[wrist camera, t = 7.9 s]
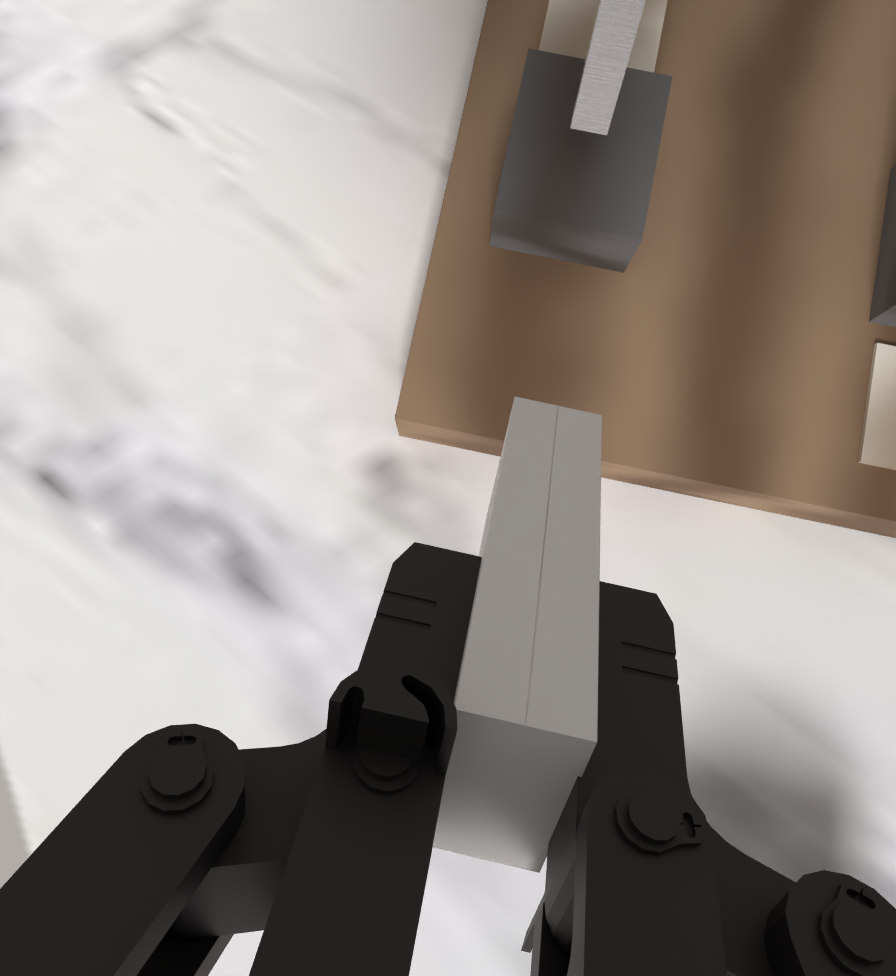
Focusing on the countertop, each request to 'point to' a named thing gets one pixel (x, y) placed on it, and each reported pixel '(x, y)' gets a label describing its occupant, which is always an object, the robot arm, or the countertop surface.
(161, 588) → the countertop surface
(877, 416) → the brown wooden base
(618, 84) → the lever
